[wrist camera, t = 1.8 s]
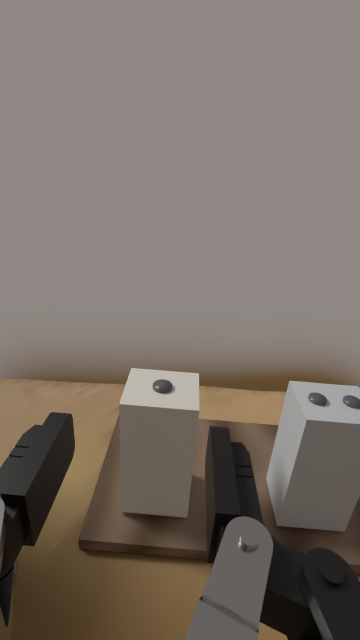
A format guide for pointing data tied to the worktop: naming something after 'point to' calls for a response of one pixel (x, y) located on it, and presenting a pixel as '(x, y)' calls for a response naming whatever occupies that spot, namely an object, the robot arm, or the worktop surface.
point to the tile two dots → (316, 457)
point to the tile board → (200, 507)
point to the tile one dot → (158, 441)
